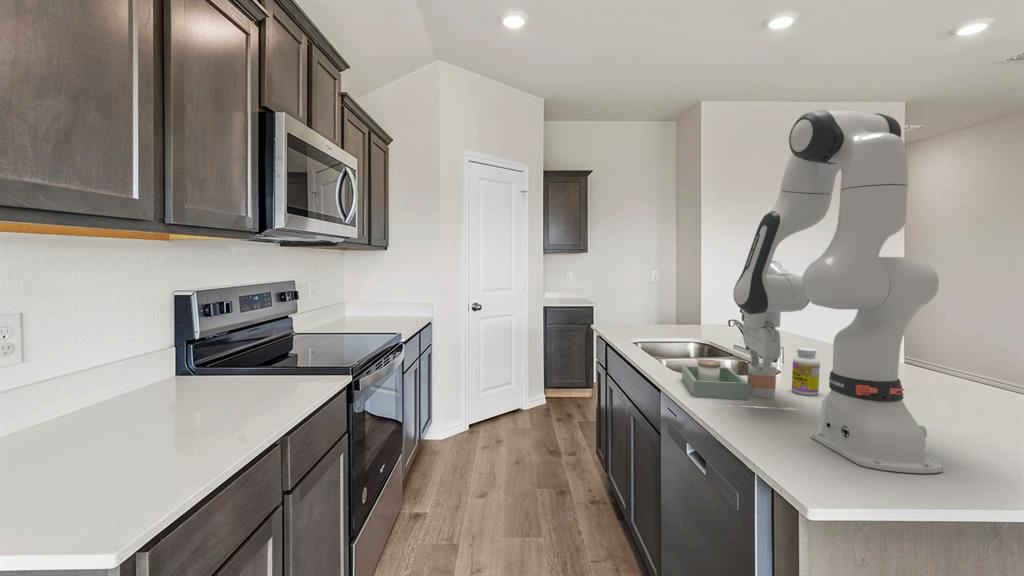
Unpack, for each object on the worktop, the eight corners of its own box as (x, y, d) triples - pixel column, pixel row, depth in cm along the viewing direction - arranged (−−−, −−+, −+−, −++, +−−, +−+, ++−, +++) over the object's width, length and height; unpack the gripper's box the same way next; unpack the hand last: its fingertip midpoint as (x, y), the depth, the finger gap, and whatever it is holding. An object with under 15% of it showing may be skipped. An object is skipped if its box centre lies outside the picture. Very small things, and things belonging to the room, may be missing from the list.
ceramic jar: (722, 387, 141) (722, 364, 140) (699, 386, 142) (700, 363, 142) (717, 382, 147) (717, 360, 147) (695, 381, 148) (695, 359, 148)
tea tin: (775, 400, 130) (776, 368, 130) (753, 399, 131) (754, 367, 131) (768, 394, 136) (769, 363, 135) (747, 393, 137) (747, 362, 136)
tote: (747, 402, 129) (748, 383, 128) (693, 399, 131) (693, 381, 131) (728, 383, 148) (729, 367, 148) (681, 381, 151) (682, 365, 150)
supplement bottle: (786, 390, 140) (787, 347, 139) (803, 389, 142) (805, 346, 141) (806, 396, 134) (808, 351, 133) (824, 395, 136) (825, 350, 135)
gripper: (788, 325, 122) (785, 378, 123) (762, 314, 142) (760, 360, 143) (762, 324, 123) (759, 376, 124) (739, 313, 143) (737, 359, 144)
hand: (759, 367), depth 134 cm, fingers open, 8 cm apart
